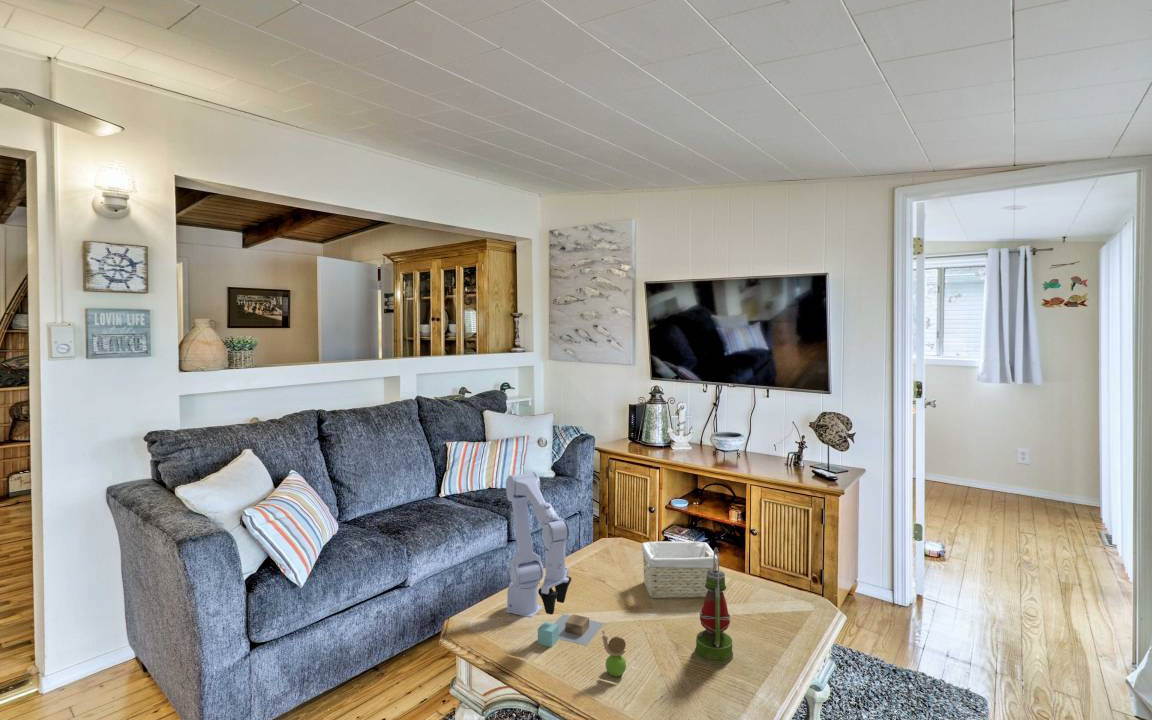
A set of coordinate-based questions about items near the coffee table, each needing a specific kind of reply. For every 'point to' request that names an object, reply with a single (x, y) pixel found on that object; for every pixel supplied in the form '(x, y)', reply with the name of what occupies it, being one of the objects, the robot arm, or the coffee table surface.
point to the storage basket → (677, 568)
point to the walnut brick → (577, 625)
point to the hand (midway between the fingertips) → (555, 607)
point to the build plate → (575, 638)
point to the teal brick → (548, 634)
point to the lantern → (714, 621)
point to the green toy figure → (615, 655)
